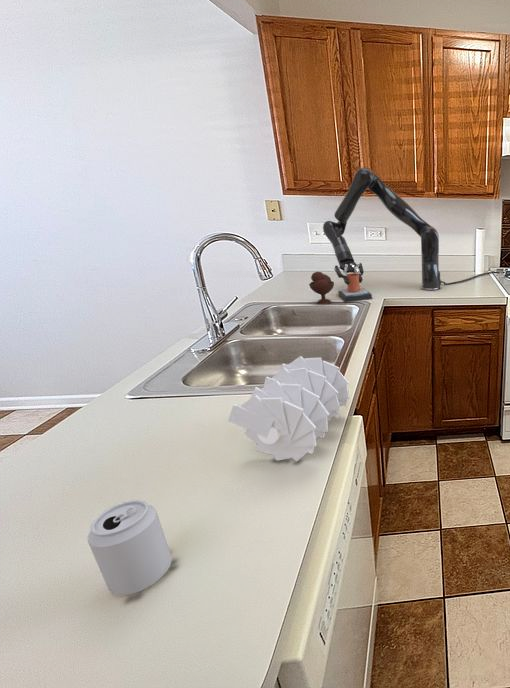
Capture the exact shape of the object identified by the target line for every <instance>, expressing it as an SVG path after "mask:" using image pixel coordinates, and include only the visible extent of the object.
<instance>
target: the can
mask: <svg viewBox="0 0 510 688" xmlns="http://www.w3.org/2000/svg"><path fill="white" fill-rule="evenodd" d="M89 527H90V531H89V533H88V535H87V544H88V546H89V548H90V550H91V553H92V555H93V557H94V560H95V562H96V564H97V566H98V568H99V571H100V573H101V575H102V577H103V581H104V582H105V584H106V587H107V589H108V591H109V592H110V593H111V594H112V595H114V596H121V597H122V596H129V595H134V594H137V593H141V592H143V591H144V590H147V589H149V588H150V587H151V586H153V585H155V584H156V583H157V582H158V581H159V580H160V579H161V578H162V577H163V576H164V575H165V574H166V573H167V571H168V570H169V569H170V567H171V565H172V561H173V556H172V553H171V550H170V547H169V545H168V544H169V543H168V541H167V538H166V535H165V531H164V529H163V526H162V524H161V521H160V518H159V515H158V512H157V509H156V507H155V506H153V505H152V504H149V503H148V502H147V501H145V500H143V499H131V500H126V501H122V502H120V503H117V504H115V505H113V506H111V507H109V508H107V509H105V510H104V511H103V512H101V513H100V514H99V515H97V517H95V518H94V519H93V520H92V523H91V524H90V526H89Z"/></svg>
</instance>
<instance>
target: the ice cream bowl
mask: <svg viewBox="0 0 510 688" xmlns="http://www.w3.org/2000/svg"><path fill="white" fill-rule="evenodd" d="M310 279H311V282H309V283H308V285H309V288H310V290H312V291H313V292H314V293H316V294H318V295H320V297H321V299H319V300H318V301H317V304H319V305H327V304H329V303H331V300H329V299H328V298H326V294H329V293H330V292H331V291H332V290H333V288H334V286H335V282H334V281H332V279H331V277H330V276H329V275H328V274H325V273H323V272H322V271H315V272H313V273H312V274H311V276H310Z"/></svg>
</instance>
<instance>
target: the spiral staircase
mask: <svg viewBox="0 0 510 688" xmlns="http://www.w3.org/2000/svg"><path fill="white" fill-rule="evenodd" d="M339 369H340V367H339V366H337V365H335V364H332V363H330V362H328V361H326V360H322V357H306V358H304V357H303V356H302V355H299V356H298V357H296V358H295V359H294V360H293V361H291V362H290V363H288V364H285V363H282V364H281V367H280V370H279V371H278V372H277V373H275V374H274V375H273V376H272V377H270V376H266V377H265V379H264V383H263V387H262V388H260V387H257V386H255V387H254V389H253V391H252V393H251V395H250V397H249V399H248V400H247V401H245V402H243V403H242V404H240V405H239V404H237V403H234V404H232V408H231V410H230V413H229V416H228V419H227V421H228V422H229V423H232V424H234V425H236V426H238V427H240V428H243V429H245V431H244V432H243V434H244V435H245V436H246V437H247V438H249V439H250V440H252V442H254V443H255V444H257V448H256V451H257V452H261V453H264V454H268V455H272V456H273V457H274V458H275V461H277V462H278V461H282V460H288V459H293V460H294V461H295V462H298V461H299V460H300V459H302V458H303V457H304V456H305V455H306V454H307V453H308V454H313V453H314V451H315V447H317V438H320V439H325V435H326V433H328V432H329V422H330V421H331V419H333V417H334V418H339V411H341V407H342V406H344V407H346V406H347V404H348V400H350V394H349V388H348V385H349V384H350V382H349V381H348V379H347V378H346V377H345V376H344V375H343V374H342V372H341V371H340V370H339Z"/></svg>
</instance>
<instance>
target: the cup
mask: <svg viewBox="0 0 510 688" xmlns="http://www.w3.org/2000/svg"><path fill="white" fill-rule="evenodd" d="M346 276H347V278H348V281H349V284H346V289H347V290H348V291H349V292H357V291H360V288H361V283H360V281H359V274H356V273H353V272H352V273H351V272H350V273H346Z"/></svg>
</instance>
